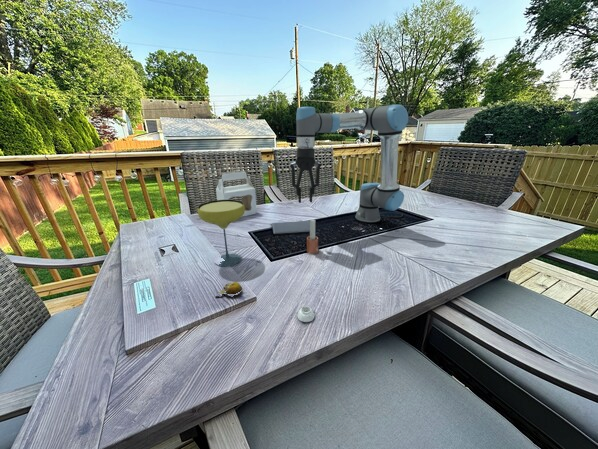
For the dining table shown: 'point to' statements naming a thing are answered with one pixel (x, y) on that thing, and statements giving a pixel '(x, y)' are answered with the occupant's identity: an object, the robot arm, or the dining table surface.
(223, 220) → the cocktail glass
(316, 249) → the pen cup
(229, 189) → the gable box
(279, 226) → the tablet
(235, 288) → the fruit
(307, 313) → the lidless jar
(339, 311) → the dining table surface
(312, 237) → the stylus
